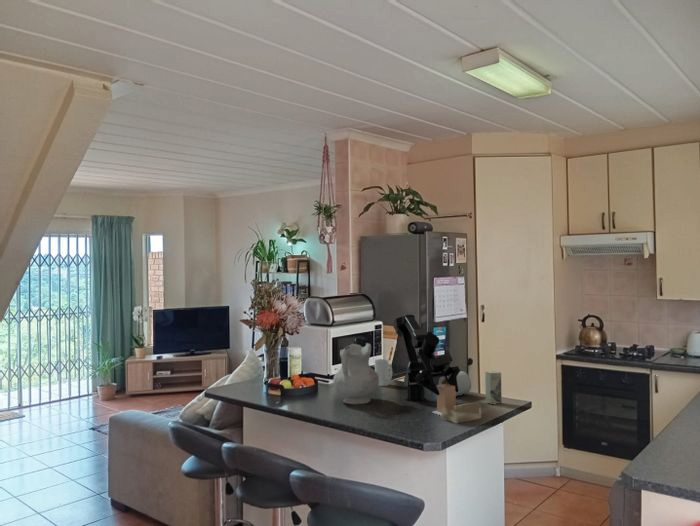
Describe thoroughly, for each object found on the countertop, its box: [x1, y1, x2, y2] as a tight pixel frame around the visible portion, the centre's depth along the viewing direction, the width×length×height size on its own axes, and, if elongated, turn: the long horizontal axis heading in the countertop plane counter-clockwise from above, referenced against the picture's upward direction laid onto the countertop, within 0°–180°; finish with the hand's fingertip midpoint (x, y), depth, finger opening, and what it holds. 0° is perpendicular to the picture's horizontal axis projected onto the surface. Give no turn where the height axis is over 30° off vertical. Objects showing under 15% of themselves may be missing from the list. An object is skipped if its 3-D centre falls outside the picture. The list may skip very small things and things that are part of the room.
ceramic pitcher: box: [332, 342, 379, 405], centre depth 232 cm, size 22×20×25 cm
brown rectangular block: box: [436, 384, 457, 413], centre depth 209 cm, size 5×5×10 cm
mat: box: [431, 410, 442, 417], centre depth 209 cm, size 8×8×1 cm
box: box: [484, 370, 503, 405], centre depth 223 cm, size 5×4×13 cm
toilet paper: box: [437, 370, 472, 397], centre depth 239 cm, size 10×10×10 cm
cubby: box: [441, 400, 482, 424], centre depth 201 cm, size 8×12×6 cm, turn 120°
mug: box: [374, 358, 393, 387], centre depth 265 cm, size 10×7×12 cm, turn 45°
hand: (448, 393), depth 208 cm, fingers open, 9 cm apart
